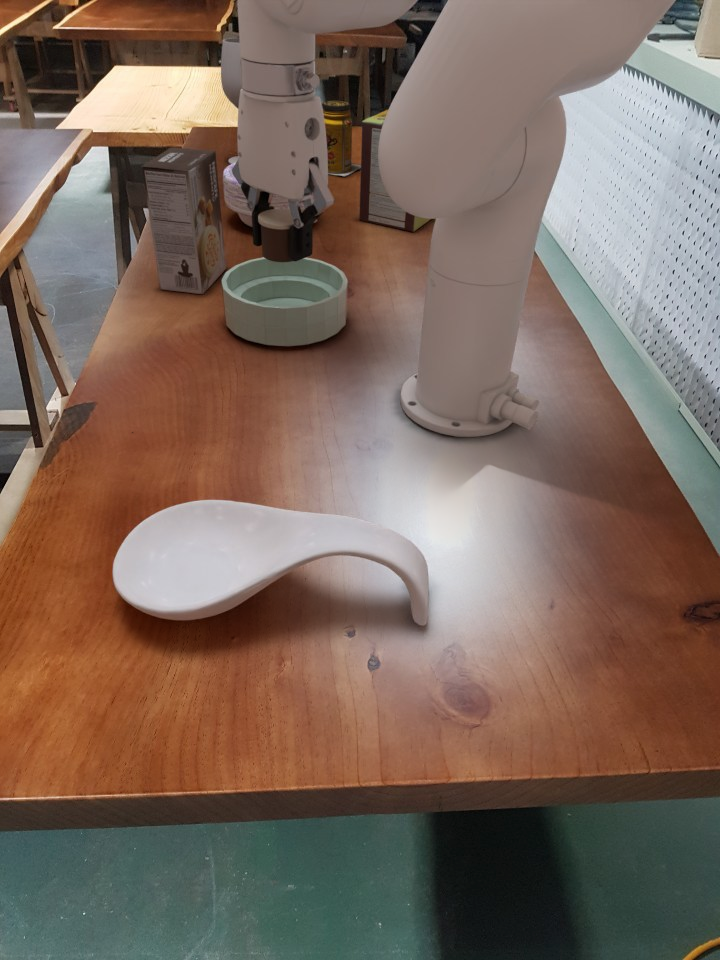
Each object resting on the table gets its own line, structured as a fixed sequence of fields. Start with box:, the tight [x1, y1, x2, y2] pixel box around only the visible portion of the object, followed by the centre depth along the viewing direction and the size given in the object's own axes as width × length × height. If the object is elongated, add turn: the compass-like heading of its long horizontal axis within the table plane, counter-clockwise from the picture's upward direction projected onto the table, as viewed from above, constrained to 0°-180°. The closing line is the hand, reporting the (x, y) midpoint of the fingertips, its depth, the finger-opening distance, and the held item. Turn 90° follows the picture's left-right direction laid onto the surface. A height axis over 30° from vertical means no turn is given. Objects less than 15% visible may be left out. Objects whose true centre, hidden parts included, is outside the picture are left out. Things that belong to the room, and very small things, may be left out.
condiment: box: [322, 100, 361, 177], centre depth 138 cm, size 7×8×12 cm
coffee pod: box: [258, 209, 294, 262], centre depth 84 cm, size 5×5×4 cm
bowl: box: [221, 256, 349, 347], centre depth 89 cm, size 15×15×6 cm
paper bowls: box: [222, 163, 315, 228], centre depth 115 cm, size 15×15×8 cm
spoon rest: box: [112, 499, 430, 626], centre depth 53 cm, size 24×12×7 cm, turn 86°
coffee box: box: [141, 147, 227, 295], centre depth 94 cm, size 9×6×16 cm
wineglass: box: [220, 37, 242, 165], centre depth 137 cm, size 8×8×21 cm
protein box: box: [358, 108, 431, 233], centre depth 118 cm, size 10×15×16 cm
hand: (282, 248), depth 85 cm, fingers closed on coffee pod, 5 cm apart
